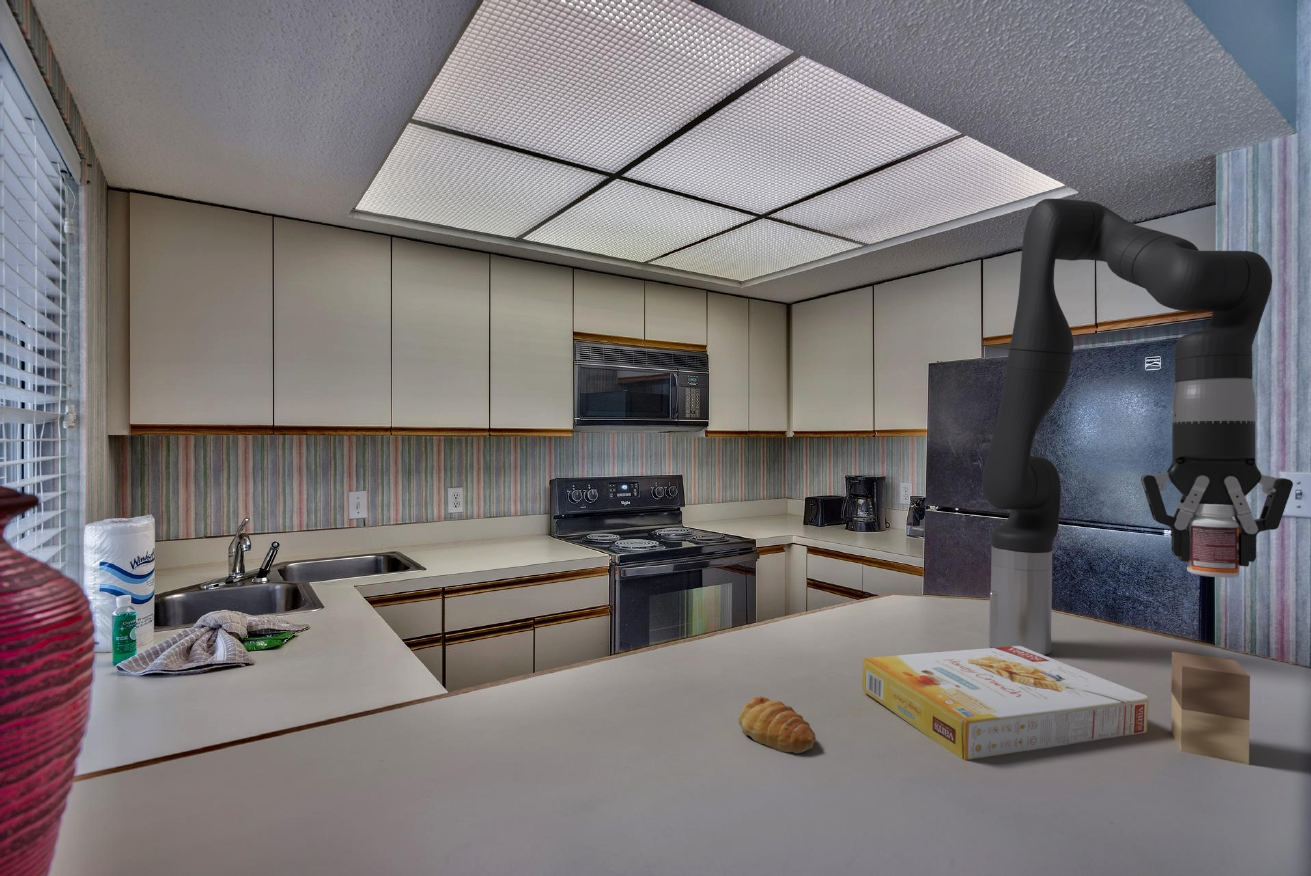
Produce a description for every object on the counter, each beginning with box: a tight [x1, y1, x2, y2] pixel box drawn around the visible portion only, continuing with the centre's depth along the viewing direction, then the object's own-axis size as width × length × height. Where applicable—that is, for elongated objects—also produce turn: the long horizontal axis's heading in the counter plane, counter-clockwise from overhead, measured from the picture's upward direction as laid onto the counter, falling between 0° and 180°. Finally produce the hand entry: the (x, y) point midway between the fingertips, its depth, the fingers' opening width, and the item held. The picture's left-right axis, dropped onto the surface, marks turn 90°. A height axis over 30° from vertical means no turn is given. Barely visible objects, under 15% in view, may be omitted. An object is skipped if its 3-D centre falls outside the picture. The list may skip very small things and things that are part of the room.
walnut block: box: [1170, 651, 1251, 721], centre depth 77 cm, size 6×6×5 cm
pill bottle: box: [1186, 503, 1240, 579], centre depth 77 cm, size 5×5×8 cm
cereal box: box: [861, 646, 1149, 761], centre depth 87 cm, size 20×6×28 cm
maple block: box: [1170, 693, 1250, 766], centre depth 77 cm, size 6×6×5 cm
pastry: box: [738, 696, 816, 754], centre depth 78 cm, size 9×7×4 cm
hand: (1212, 562), depth 77 cm, fingers closed on pill bottle, 4 cm apart
